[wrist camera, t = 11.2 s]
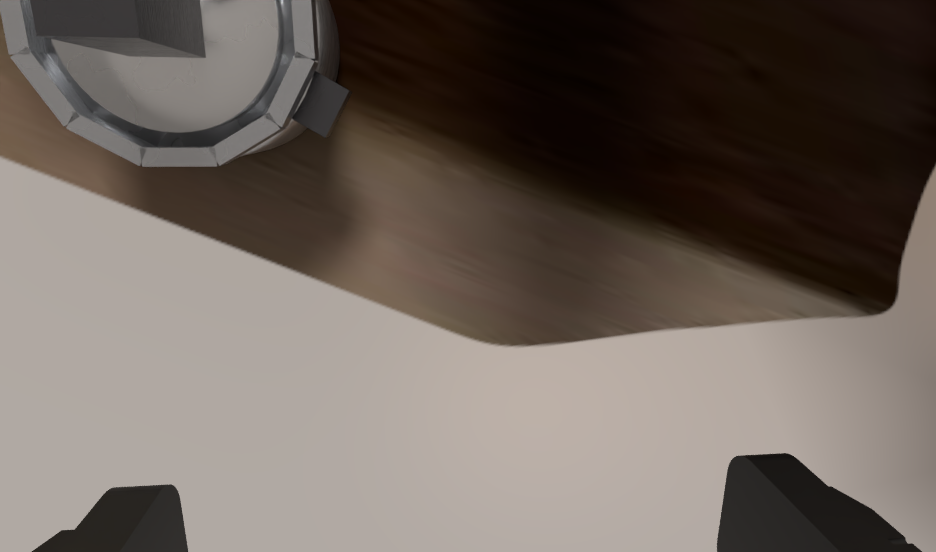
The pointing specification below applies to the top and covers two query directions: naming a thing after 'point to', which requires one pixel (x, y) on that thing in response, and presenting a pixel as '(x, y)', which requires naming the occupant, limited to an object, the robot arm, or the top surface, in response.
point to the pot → (262, 128)
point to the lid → (168, 56)
